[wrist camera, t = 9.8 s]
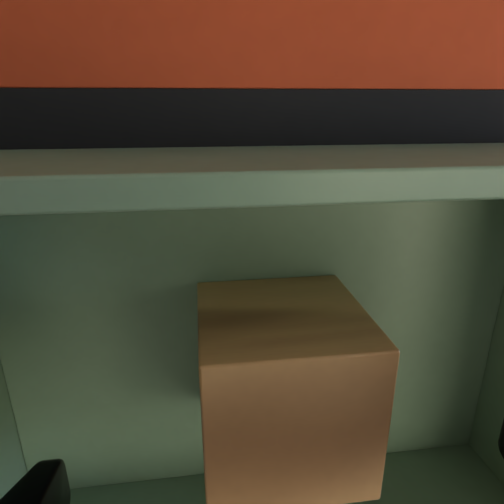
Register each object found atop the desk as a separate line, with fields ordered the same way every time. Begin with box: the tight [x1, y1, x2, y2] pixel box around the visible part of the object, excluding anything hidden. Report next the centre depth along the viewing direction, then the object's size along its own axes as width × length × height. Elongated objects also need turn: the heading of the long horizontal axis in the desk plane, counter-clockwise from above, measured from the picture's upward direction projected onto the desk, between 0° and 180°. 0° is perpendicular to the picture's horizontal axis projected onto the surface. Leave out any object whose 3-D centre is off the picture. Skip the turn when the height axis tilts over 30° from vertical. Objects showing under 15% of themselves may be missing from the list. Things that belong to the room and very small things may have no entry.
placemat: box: [0, 0, 504, 150], centre depth 11 cm, size 24×20×1 cm
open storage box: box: [0, 143, 504, 504], centre depth 11 cm, size 11×16×4 cm
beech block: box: [197, 275, 400, 504], centre depth 10 cm, size 4×4×4 cm
